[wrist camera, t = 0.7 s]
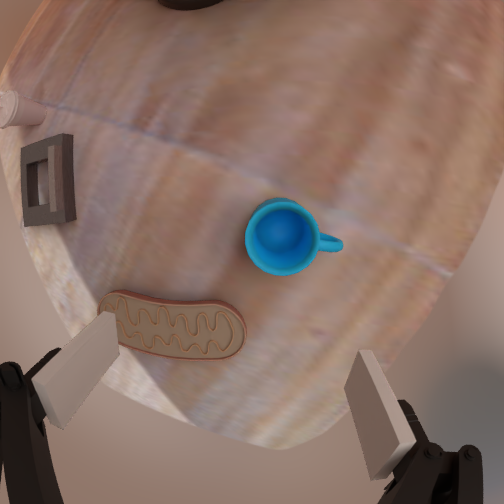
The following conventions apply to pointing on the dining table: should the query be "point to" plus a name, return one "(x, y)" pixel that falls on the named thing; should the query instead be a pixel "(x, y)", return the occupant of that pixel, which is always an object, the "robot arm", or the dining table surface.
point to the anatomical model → (176, 326)
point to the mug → (285, 237)
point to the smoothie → (20, 110)
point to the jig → (59, 179)
